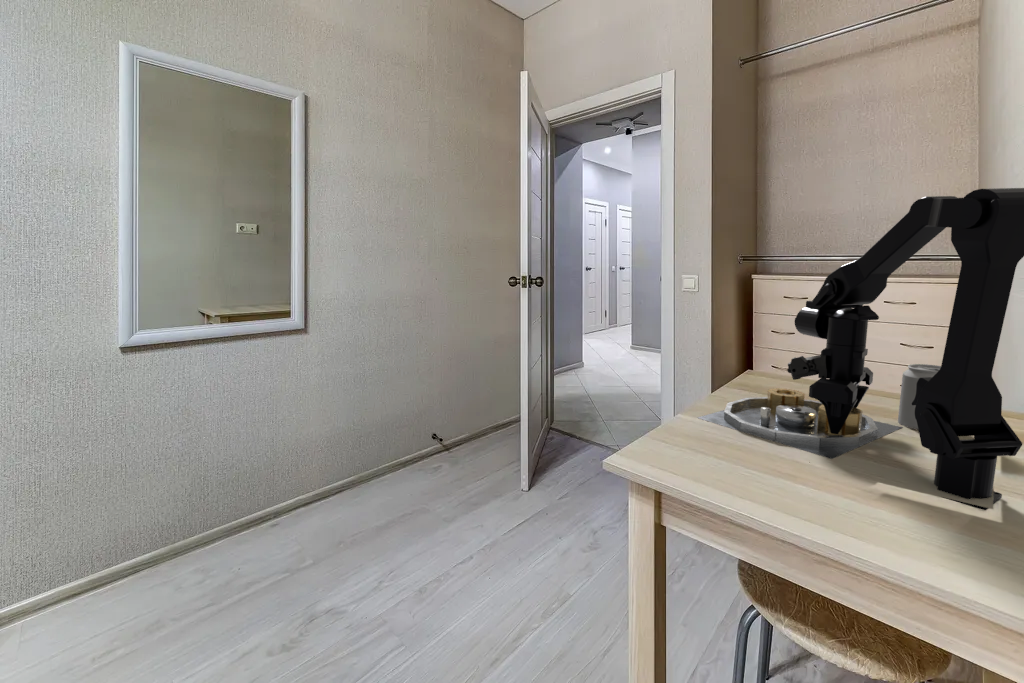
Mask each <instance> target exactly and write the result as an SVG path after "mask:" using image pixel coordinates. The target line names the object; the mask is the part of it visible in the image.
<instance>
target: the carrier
mask: <svg viewBox="0 0 1024 683" xmlns="http://www.w3.org/2000/svg"><path fill="white" fill-rule="evenodd" d="M785 395H789V394H785ZM767 397H768V396H759V397H758V396H756V397H744V398H741V399H736V400H734V401H730V402H727V403H726V406H725V409H722V410H720V411H716V412H712V413H709V414H708V413H707V414H706V415H705V414H704V415H702V416H698V417H696V418H697V419H699V420H702V421H706V422H709V423H711V424H716V425H718V426H723V427H724V428H725V427H726V428H729V429H733V430H735V431H738V432H741V433H745V434H748V435H751V436H755V437H758V438H762V439H765V440H767V441H768V440H769V441H770V442H771V441H772V442H774V443H778V444H781V445H785V446H788V447H792V448H794V449H798V450H801V451H804V452H807V453H811V454H813V455H814V454H815V455H818V456H821V457H824V458H827V459H831V460H833V459H835V458H838V457H839V456H842V455H844V454H847V453H849V452H850V451H853V450H855V449H857V448H860V447H863V446H864V445H867V444H869V443H872V442H873V441H876V440H878V439H881V438H883V437H885V436H887V435H889V434H892V433H894V432H897V431H898V430H900V429H903V428H904V426H899V425H895V424H894V425H893V424H890V423H885V422H880V421H876V420H873V418H872V417H871V416H868V415H865V414H863V413H862V421H861V432H859V433H856V434H854V435H832V434H828V433H824V432H822V431H821V430H819V429H818V428H817V425H818V412H819V407H820V406H821V405H823V404H822V403H821V402H820V401H819V400H812V399H805V398H804V406H805V407H809V408H812V409H814V410H815V411H816V424H815V426H814V427H811V428H795V427H789V426H785V425H782V424H779V423H777V422H776V420H775V418H776V414H774V413H771V412H770V410H771V409H770V408H768V407H767Z"/></svg>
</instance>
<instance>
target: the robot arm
mask: <svg viewBox="0 0 1024 683" xmlns="http://www.w3.org/2000/svg"><path fill="white" fill-rule="evenodd" d="M946 228H951V231H950V233H951V234H950V242H951V243H952V245H953V247H954V249H955V252H956V253H957V255H958V258H959V259H960V261H961V263H960V271H959V276H958V279H957V280H958V281H957V285H956V290H955V296H954V300H953V304H952V310H951V311H952V312H951V315H950V321H949V324H948V325H949V326H948V331H947V336H946V341H945V345H944V351H943V355H942V360H941V365H940V366H941V368H940V370H939V371H938V372H937V373H936V374H935V375H934V376H933V377H922V378H919V380H918V382H917V384H916V396H915V399H914V400H913V402H912V405H916V407H915V419H916V420H917V425H918V434H919V438H920V439H919V440H920V445H921V446H922V447H923V448H924V449H925V448H926V449H928V450H929V452H930V453H932V454H934V455H936V462H935V463H936V464H935V469H934V470H935V472H934V479H933V483H934V486H935V487H937V491H939V492H943V493H946V494H950V495H953V496H957V497H959V498H963V499H965V500H972V499H979V500H980V499H989V498H991V497H993V498H992V499H993V500H992V501H993V502H992V505H995V504H996V503H997V502H999V500H1001V499H1002V497H1003V494H1002V493H1000V492H998V491H996V490H995V491H993V489H994V482H995V475H996V469H997V468H996V467H997V462H998V457H1002V456H1003V457H1006V456H1007V457H1008V456H1009V457H1015V456H1016V455H1017V454H1018V452H1019V451H1020V449H1021V447H1022V446H1023V442H1022V441H1021V439H1020V437H1019V436H1018V435H1017V434H1016V432H1015V431H1014V430H1013V428H1012V427H1011V426H1010V425H1009V423H1008V421H1007V420H1006V419H1005V418H1004V416H1003V415H1002V412H1003V411H1002V410H1003V408H1002V407H1003V406H1002V405H1003V396H1002V394H1001V392H1000V390H999V387H998V386H997V384H996V382H995V380H994V378H993V369H994V365H995V361H996V356H997V353H998V348H999V343H1000V339H1001V335H1002V330H1003V325H1004V320H1005V318H1006V317H1005V316H1006V312H1007V309H1008V304H1009V300H1010V295H1011V290H1012V286H1013V282H1014V279H1015V272H1016V269H1017V265H1018V264H1019V262H1020V261H1021V260H1022V259H1023V258H1024V187H1014V188H1013V187H1007V188H1006V187H1004V188H1003V187H1000V188H994V187H993V188H979V189H974V190H972V191H971V192H969V193H967V194H966V195H964V197H957V196H955V195H954V196H952V195H939V196H938V195H937V196H935V195H933V196H924V197H921V198H919V199H918V198H917V199H916V200H915V201H914V202H913V203H912V204H911V206H910V208H909V211H908V212H907V213H906V214H905V215H904V216H902V218H900V219H899V221H897V222H896V223H895V224H894V225H893V226H892V227H891V228H890V229H889V230H888V231H887V232H886V233H885V234H884V235H883V236H882V237H880V239H878V241H877V242H875V243H874V244H873V245H872V246H871V247H870V248H869V249H868V250H867V251H866V252H865V253H864V254H863V255H861V257H859V258H858V259H856V260H853V261H851V262H848V263H846V264H843V265H841V266H839V267H838V268H836V269H835V270H834V271H832V272H831V273H829V274H828V275H827V276H826V277H825V280H824V282H823V283H822V286H821V287H820V289H819V291H818V292H817V294H816V295H815V297H814V298H813V299H811V300H806V302H805V307H803V308H802V309H800V310H799V311H798V312H797V314H796V316H795V318H794V326H795V329H796V331H797V332H799V333H800V334H802V335H805V336H809V337H814V338H818V339H823V340H826V345H825V346H826V347H825V348H823V349H822V350H821V351H820V354H818V355H813V356H808V357H806V356H804V355H801V356H797V357H796V356H795V357H792V358H791V360H790V362H788V363H787V367H788V368H787V373H789V374H790V375H791V378H792V380H794V381H795V380H800V379H801V378H806V377H811V376H817V375H818V378H819V379H818V380H816V381H815V382H814V383H812V384H811V385H809V389H808V390H809V391H808V397H809V398H811V399H815V401H818V402H821V403H822V404H823V405H824V407H825V411H826V415H827V419H828V423H829V428H830V432H831V433H833V434H838V433H839V432H840V430H841V428H842V426H843V425H844V423H845V421H846V419H847V418H848V416H849V414H850V412H851V411H852V409H853V407H855V408H857V409H858V407H859V404H860V403H861V401H862V400H863V398H864V396H865V395H866V393H867V392H868V391H869V389H870V387H869V386H871V385H872V384H873V379H874V378H873V377H874V372H873V371H872V370H871V369H870V368H869V367H866V366H865V359H866V358H865V357H866V356H868V353H869V352H868V350H869V349H868V348H866V346H867V336H868V327H869V324H868V323H869V321H878V320H879V319H880V317H879V315H878V314H877V312H875V311H873V309H872V308H871V307H870V305H869V304H872V303H873V302H875V301H876V300H877V298H878V297H879V296H880V295H881V294H882V292H884V290H885V289H886V288H887V286H888V278H889V277H890V276H891V275H892V273H894V272H895V271H896V270H898V269H899V268H900V267H901V266H902V265H904V264H905V263H906V262H907V261H908V260H910V258H912V257H913V256H914V255H915V254H917V253H918V252H919V251H921V249H923V248H924V247H925V246H926V245H927V244H928V243H930V242H931V241H932V240H933V239H934V238H936V237H937V236H938V235H939V234H940V233H941V232H943V231H944V230H945V229H946ZM861 382H864V383H865V385H867V386H865V385H861V384H860V383H861ZM959 437H973V438H972V439H960V438H959ZM942 498H944V499H946V500H950V501H953V502H957V503H959V504H962V505H966V506H969V507H971V508H972V507H973V508H975V509H979V510H984V511H987V510H988V509H989V507H987V506H986V507H985V506H982V505H977V504H973V503H969V502H965V501H962V500H961V501H960V500H956V499H952V498H948V497H944V496H942Z"/></svg>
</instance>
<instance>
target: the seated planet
mask: <svg viewBox="0 0 1024 683" xmlns="http://www.w3.org/2000/svg"><path fill="white" fill-rule="evenodd" d="M785 394H789V395H785ZM805 395H806V394H805V393H803V391H800V390H795V389H792V388H789V389H788V388H780V387H779V388H771V389H768V390H767V396H766V397H767V407H768V408H770V409H771V410H770V412H771V413H774V414H776V407H777V406H779V405H799V406H804V399H805Z"/></svg>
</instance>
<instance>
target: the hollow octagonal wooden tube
mask: <svg viewBox="0 0 1024 683" xmlns="http://www.w3.org/2000/svg"><path fill="white" fill-rule="evenodd" d="M862 414H863V410H861V409H859V408H858V407H857V408H855V407H853V409H852V411H851V412H850V414H849V416H848V418H847V419H846V421H845V423H844V425H843V426H842V428H841V430H840V432H839V433H838V434H833V433H831V432H830V428H829V423H828V419H827V415H826V411H825V407H824V405H821V406H820V407H819V412H818V425H817V428H818V429H819V430H821V431H822V432H824V433H828V434H832V435H854V434H856V433H859V432H861V421H862Z"/></svg>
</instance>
